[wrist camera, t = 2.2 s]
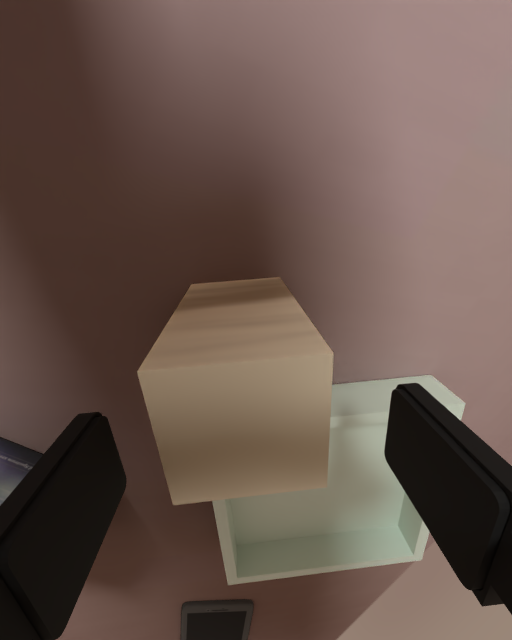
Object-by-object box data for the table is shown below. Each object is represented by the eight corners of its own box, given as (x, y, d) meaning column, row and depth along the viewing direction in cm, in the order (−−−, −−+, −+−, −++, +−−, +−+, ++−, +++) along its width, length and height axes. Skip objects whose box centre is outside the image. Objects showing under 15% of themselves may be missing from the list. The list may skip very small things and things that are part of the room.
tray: (204, 397, 18) (198, 431, 15) (430, 374, 19) (465, 403, 16) (228, 541, 24) (227, 585, 21) (400, 520, 24) (421, 560, 22)
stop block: (191, 284, 15) (137, 372, 7) (279, 276, 15) (333, 353, 7) (203, 361, 17) (173, 505, 9) (282, 354, 17) (327, 487, 9)
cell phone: (181, 661, 32) (179, 671, 31) (182, 596, 27) (180, 606, 26) (242, 657, 33) (242, 667, 32) (254, 594, 28) (254, 604, 27)
